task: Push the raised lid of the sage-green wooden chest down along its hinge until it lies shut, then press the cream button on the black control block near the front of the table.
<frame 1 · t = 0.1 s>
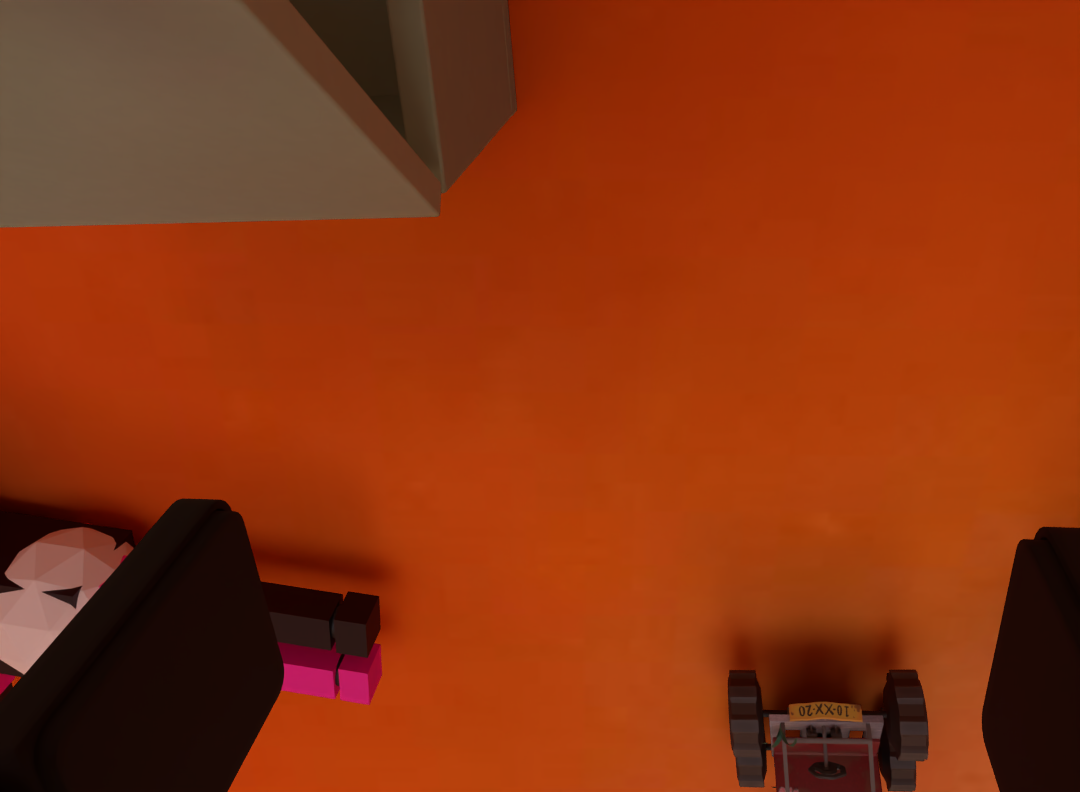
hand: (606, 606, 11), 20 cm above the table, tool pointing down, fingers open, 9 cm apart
blocky doll: (124, 552, 41), on the table
toy vehicle: (818, 749, 40), on the table
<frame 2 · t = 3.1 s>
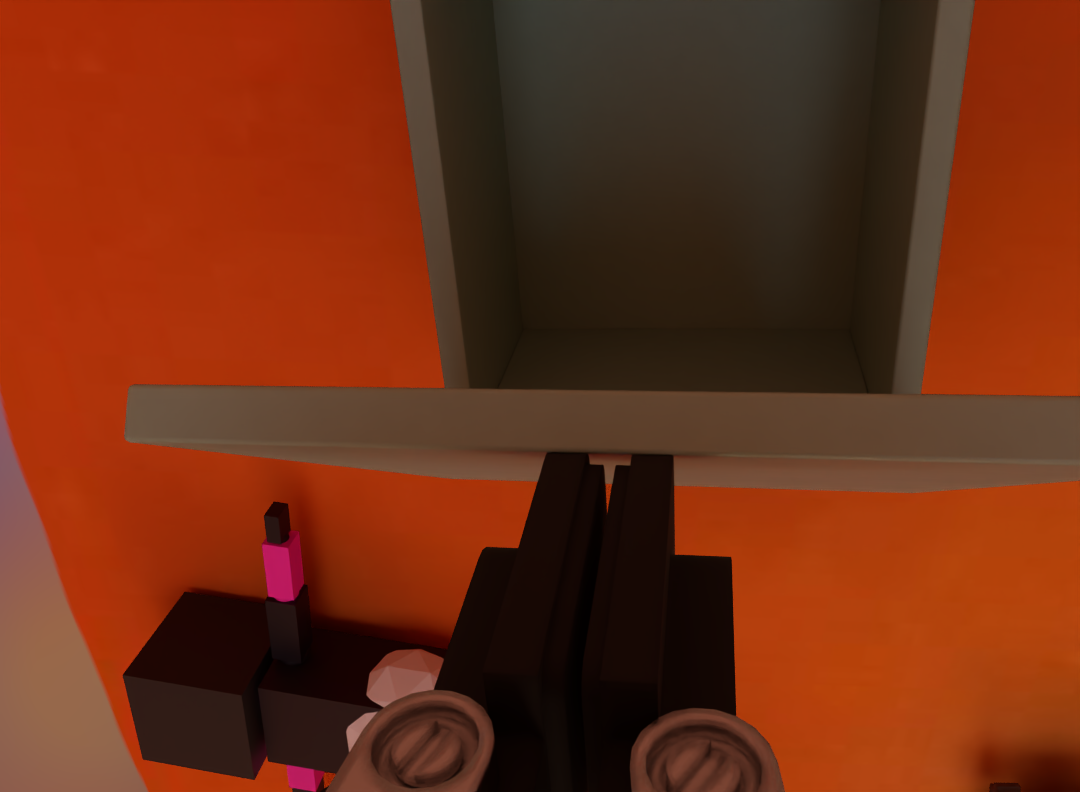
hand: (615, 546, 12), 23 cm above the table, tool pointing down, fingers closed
blocky doll: (431, 663, 46), on the table
lid: (656, 457, 19), point 16 cm above the table, hinge at 54.3°, touching gripper
chest: (681, 132, 32), on the table
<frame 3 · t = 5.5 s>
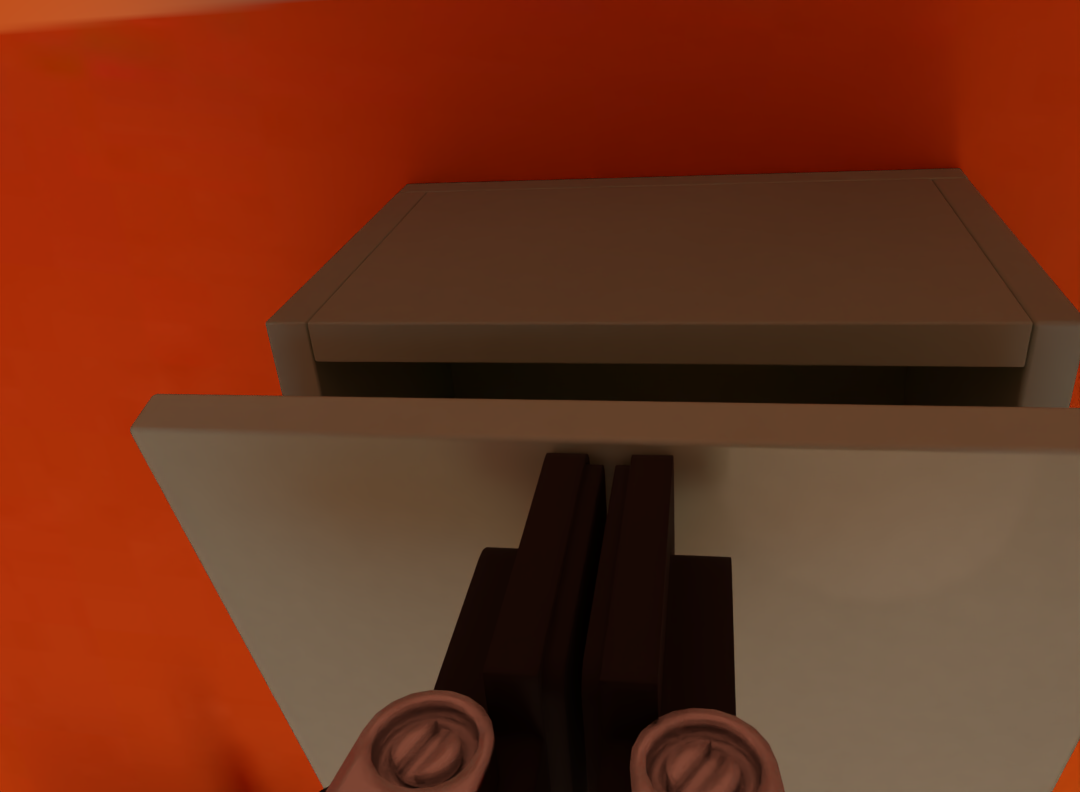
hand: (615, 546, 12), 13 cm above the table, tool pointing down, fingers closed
lid: (644, 746, 17), point 11 cm above the table, hinge at 12.2°, touching gripper
chest: (670, 443, 27), on the table
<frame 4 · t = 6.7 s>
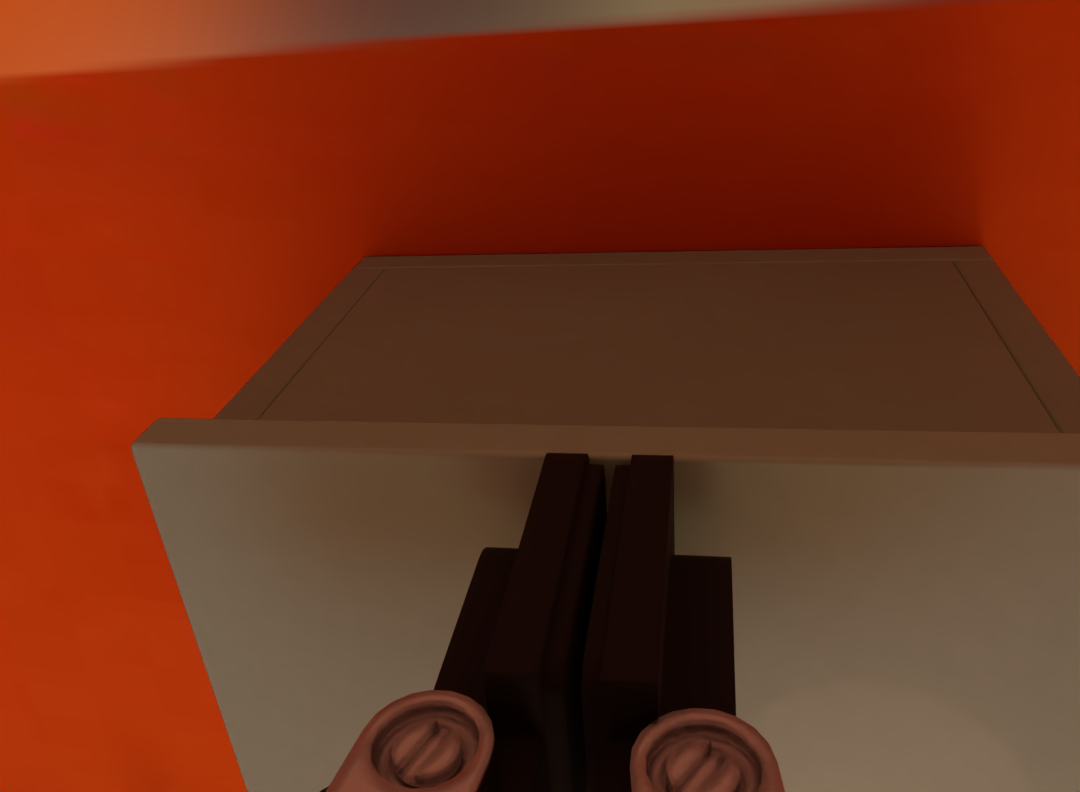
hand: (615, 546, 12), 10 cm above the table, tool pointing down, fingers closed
chest: (660, 534, 24), on the table
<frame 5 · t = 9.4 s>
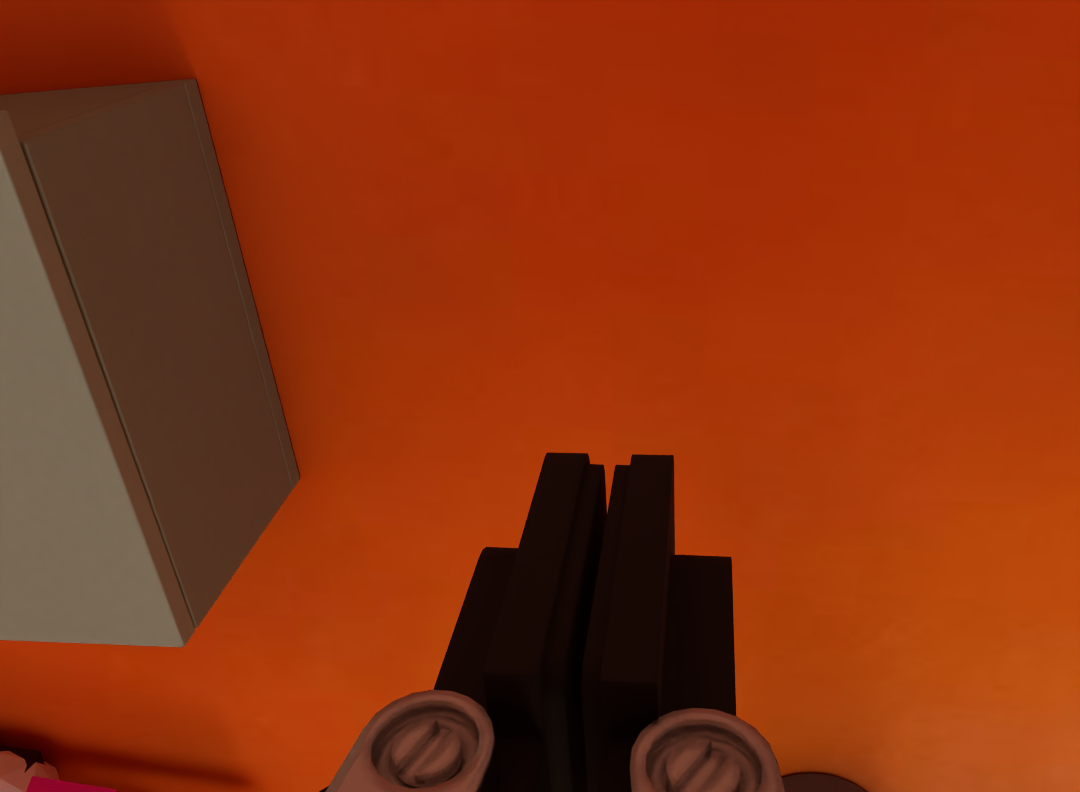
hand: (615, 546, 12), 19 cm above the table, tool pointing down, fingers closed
blocky doll: (39, 760, 50), on the table
chest: (88, 305, 35), on the table
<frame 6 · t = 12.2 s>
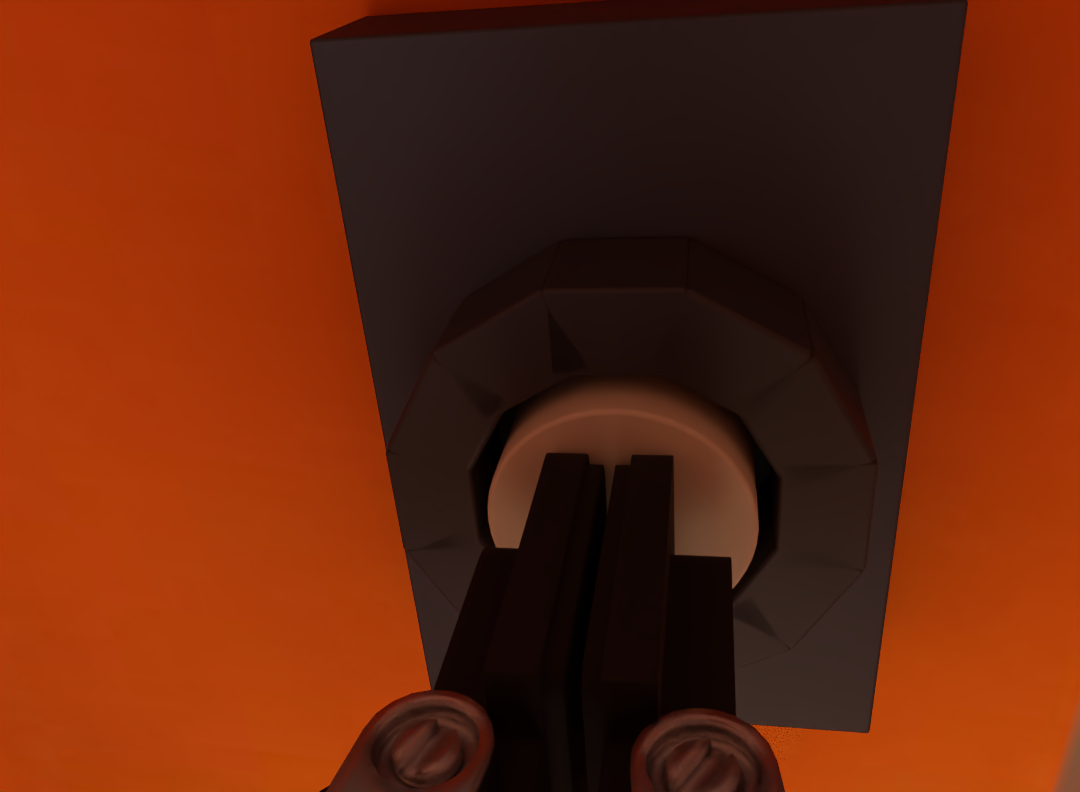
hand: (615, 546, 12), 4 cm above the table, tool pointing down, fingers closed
button: (624, 490, 13), point 4 cm above the table, slide at -0.9 cm, touching gripper
control block: (641, 373, 16), on the table
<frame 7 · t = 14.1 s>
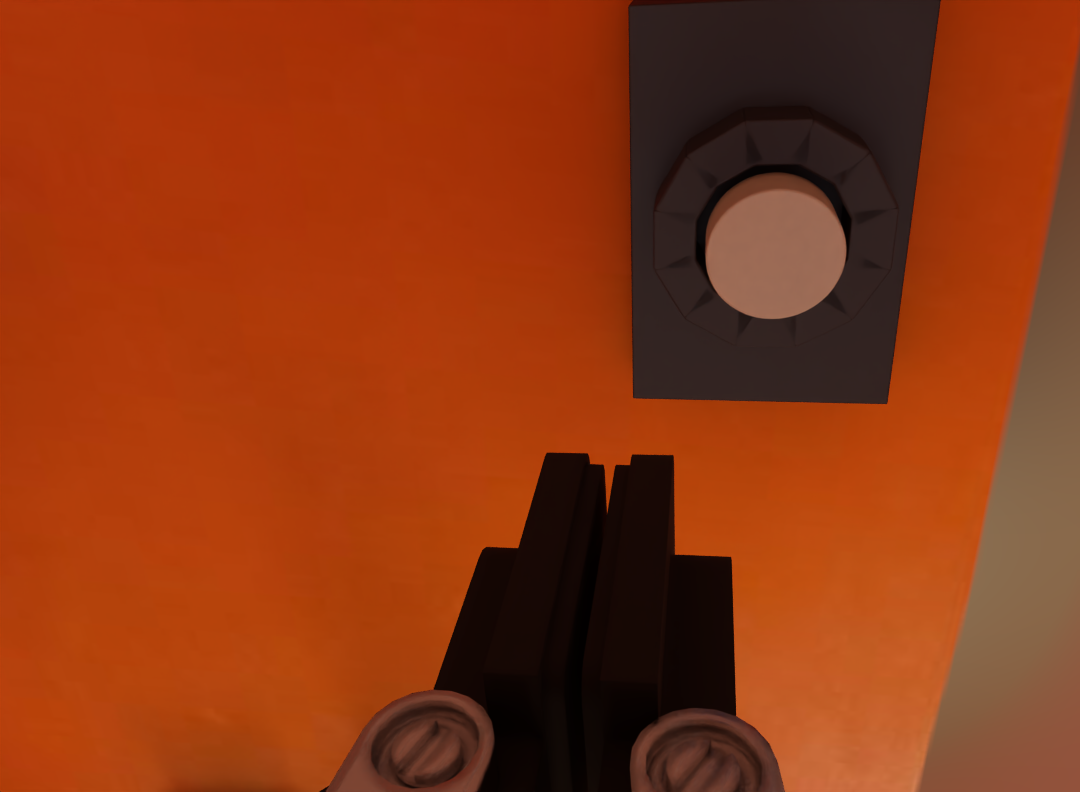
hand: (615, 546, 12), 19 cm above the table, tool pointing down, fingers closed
button: (773, 246, 25), point 4 cm above the table, slide at 0.1 cm
control block: (763, 199, 29), on the table
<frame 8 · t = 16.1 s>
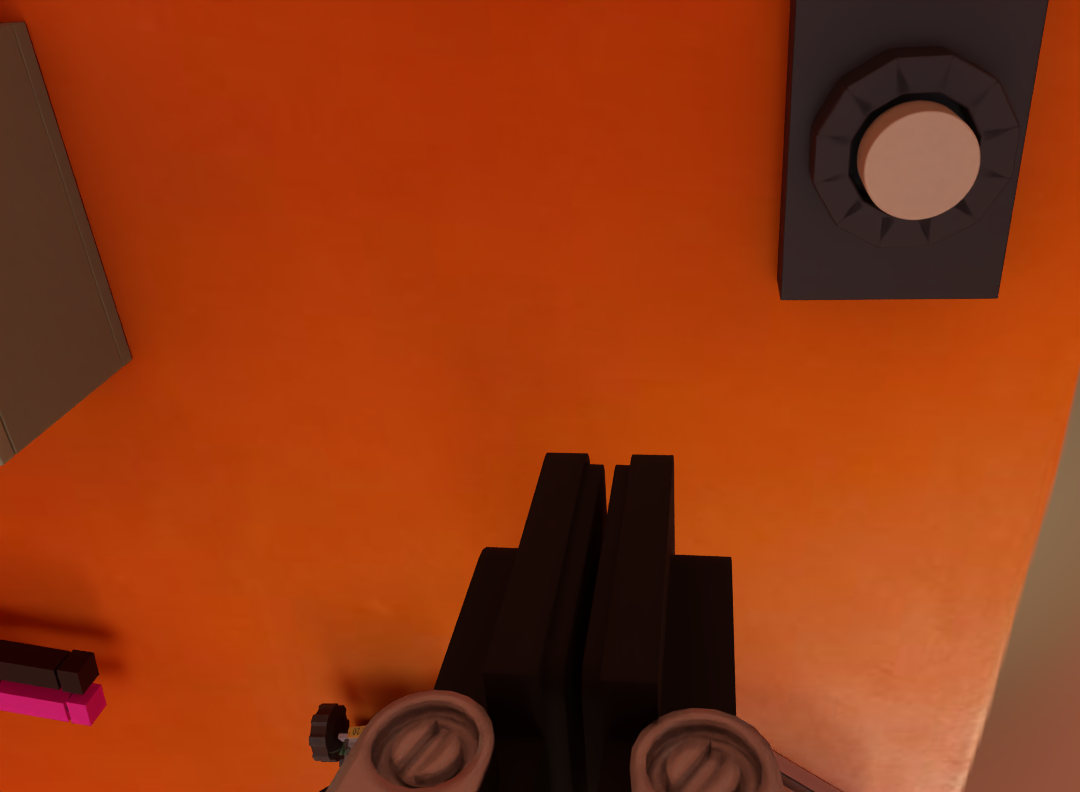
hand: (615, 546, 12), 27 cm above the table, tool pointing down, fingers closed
button: (916, 160, 31), point 4 cm above the table, slide at 0.1 cm
toy vehicle: (418, 755, 57), on the table
control block: (893, 129, 35), on the table
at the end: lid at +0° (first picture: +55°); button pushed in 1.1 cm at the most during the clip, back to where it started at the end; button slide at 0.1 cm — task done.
